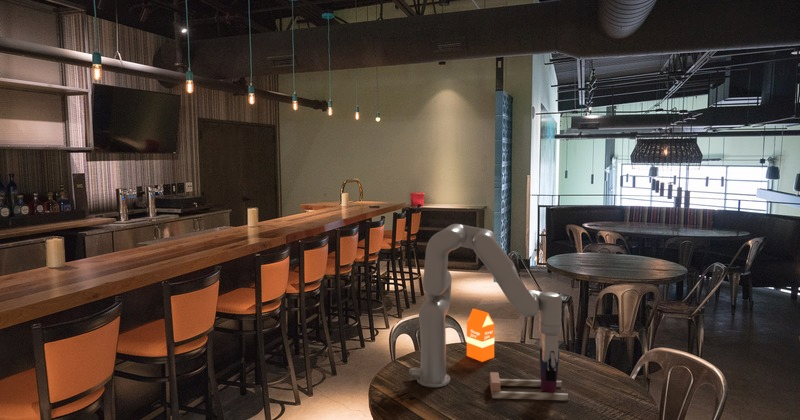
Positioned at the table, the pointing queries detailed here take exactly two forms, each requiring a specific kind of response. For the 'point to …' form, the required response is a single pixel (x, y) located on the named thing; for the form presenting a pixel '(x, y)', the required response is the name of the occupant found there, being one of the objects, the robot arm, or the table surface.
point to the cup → (545, 385)
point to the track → (497, 393)
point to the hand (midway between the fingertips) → (548, 376)
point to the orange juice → (480, 336)
